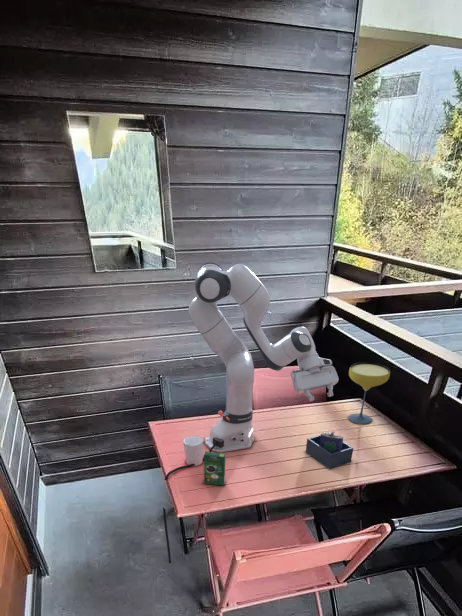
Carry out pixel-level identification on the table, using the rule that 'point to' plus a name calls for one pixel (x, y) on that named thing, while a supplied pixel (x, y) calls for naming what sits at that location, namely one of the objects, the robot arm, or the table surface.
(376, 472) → the table surface
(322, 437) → the flask
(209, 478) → the coffee box
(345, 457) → the tub
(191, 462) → the white cup
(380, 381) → the cocktail glass
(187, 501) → the table surface
